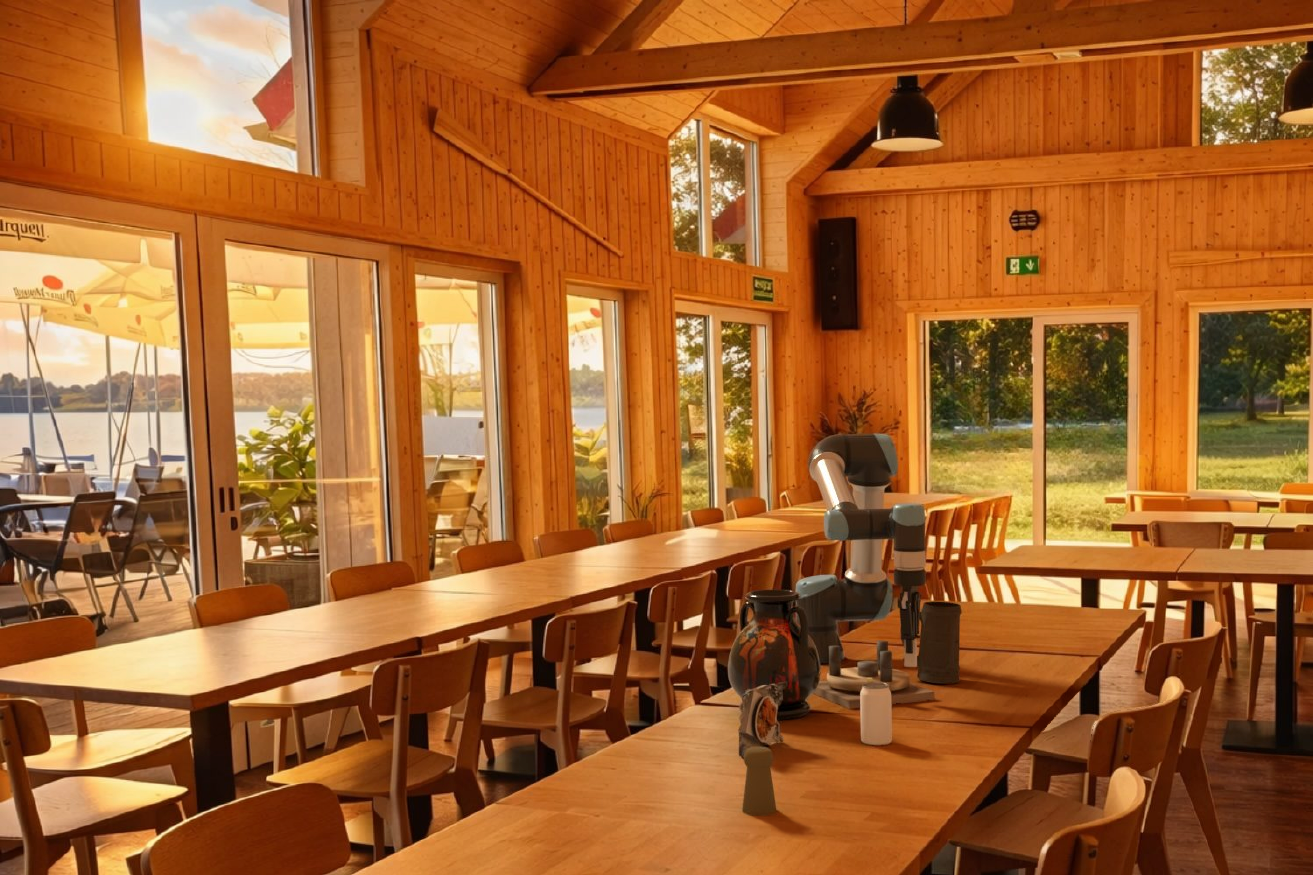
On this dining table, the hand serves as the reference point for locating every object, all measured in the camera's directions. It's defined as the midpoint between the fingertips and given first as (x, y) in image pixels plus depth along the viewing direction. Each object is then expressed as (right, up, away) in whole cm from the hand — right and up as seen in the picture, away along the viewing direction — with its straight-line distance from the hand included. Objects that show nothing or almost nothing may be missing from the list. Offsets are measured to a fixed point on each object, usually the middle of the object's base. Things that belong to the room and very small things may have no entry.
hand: (910, 666), depth 311 cm
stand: (-9, -8, +7) cm, 14 cm away
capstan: (-9, -6, +7) cm, 13 cm away
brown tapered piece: (-43, -11, -84) cm, 95 cm away
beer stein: (+10, -8, +23) cm, 26 cm away
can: (-15, -10, -38) cm, 42 cm away
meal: (-39, -10, -43) cm, 58 cm away
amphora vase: (-34, -9, -10) cm, 36 cm away
